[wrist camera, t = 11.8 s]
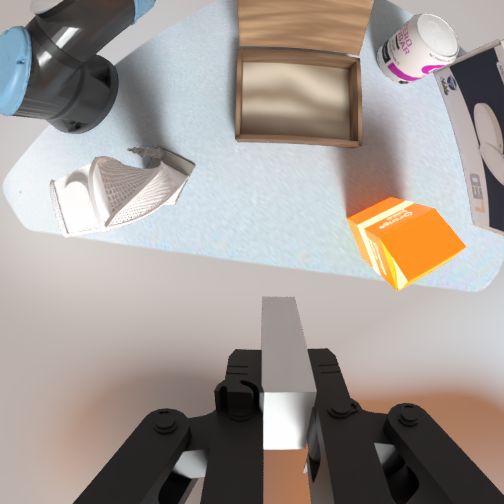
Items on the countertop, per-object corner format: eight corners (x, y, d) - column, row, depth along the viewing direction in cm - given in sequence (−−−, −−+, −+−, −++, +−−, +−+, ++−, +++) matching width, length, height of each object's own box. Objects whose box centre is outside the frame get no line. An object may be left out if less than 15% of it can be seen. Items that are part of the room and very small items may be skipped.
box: (352, 148, 44) (362, 145, 39) (238, 142, 44) (235, 138, 39) (350, 68, 40) (359, 58, 35) (239, 60, 41) (237, 49, 36)
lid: (358, 55, 34) (378, -16, 22) (239, 46, 35) (235, -31, 23) (358, 53, 35) (376, -17, 22) (240, 44, 35) (236, -32, 23)
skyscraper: (203, 169, 46) (127, 170, 19) (180, 214, 48) (89, 269, 21) (158, 146, 45) (48, 128, 18) (137, 190, 47) (20, 219, 20)
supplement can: (424, 78, 40) (471, 56, 25) (391, 91, 41) (435, 67, 26) (401, 40, 38) (441, 7, 23) (366, 50, 39) (401, 14, 25)
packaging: (431, 69, 39) (498, 38, 20) (454, 68, 38) (520, 41, 19) (472, 225, 46) (543, 252, 27) (492, 216, 45) (561, 240, 26)
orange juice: (346, 217, 47) (397, 249, 28) (390, 196, 46) (460, 214, 26) (362, 259, 49) (415, 311, 29) (405, 237, 47) (472, 275, 28)
